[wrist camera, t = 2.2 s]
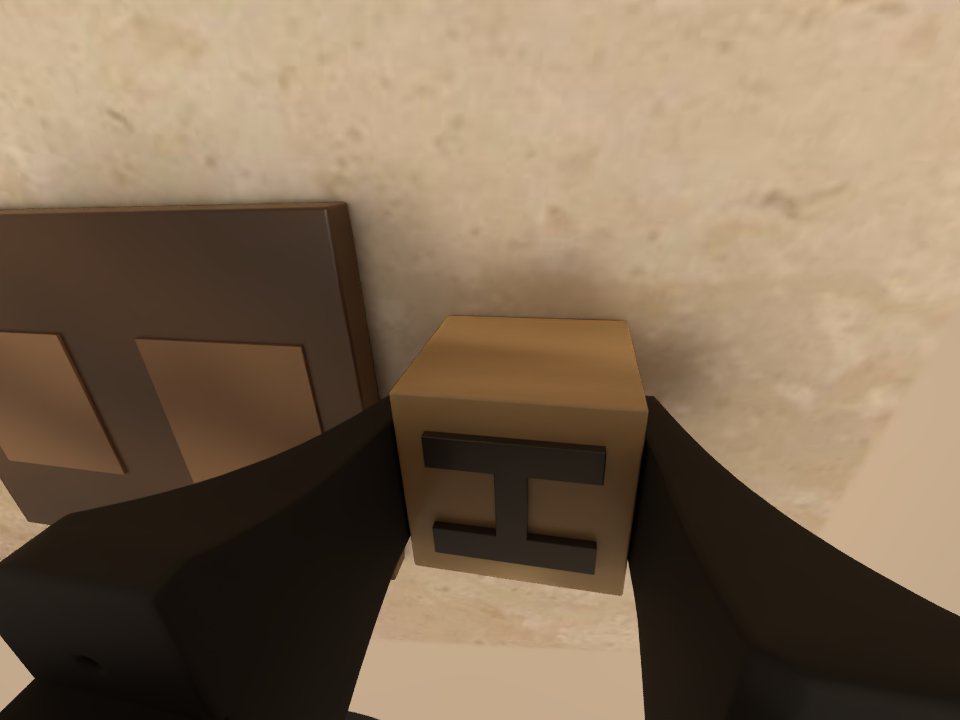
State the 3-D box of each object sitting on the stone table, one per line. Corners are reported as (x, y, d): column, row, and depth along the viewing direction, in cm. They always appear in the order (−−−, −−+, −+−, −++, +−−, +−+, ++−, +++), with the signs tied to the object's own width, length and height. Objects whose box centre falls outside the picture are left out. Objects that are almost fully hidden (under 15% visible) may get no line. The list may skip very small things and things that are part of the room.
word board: (405, 557, 16) (394, 584, 15) (52, 504, 19) (24, 524, 18) (348, 201, 11) (324, 207, 10) (-124, 212, 14) (-177, 217, 13)
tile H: (611, 468, 12) (623, 606, 9) (458, 454, 13) (411, 573, 10) (627, 320, 11) (651, 417, 7) (447, 314, 11) (383, 398, 8)
